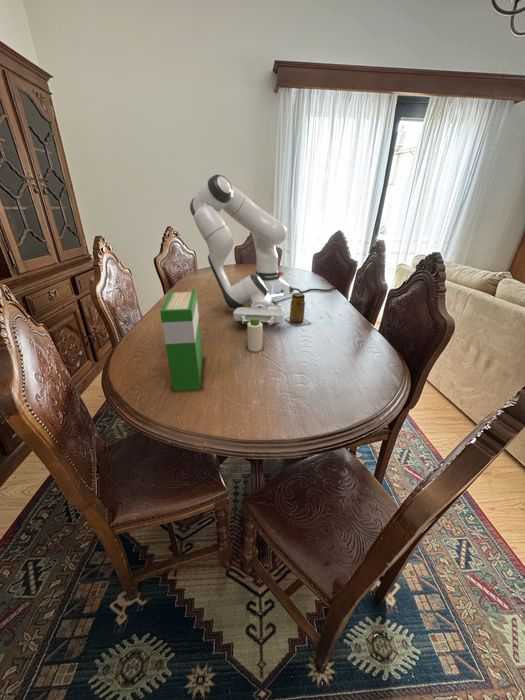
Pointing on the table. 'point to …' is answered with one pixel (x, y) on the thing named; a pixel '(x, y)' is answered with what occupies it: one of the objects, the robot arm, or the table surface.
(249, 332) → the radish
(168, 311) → the hardback book
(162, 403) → the table surface
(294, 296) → the condiment
